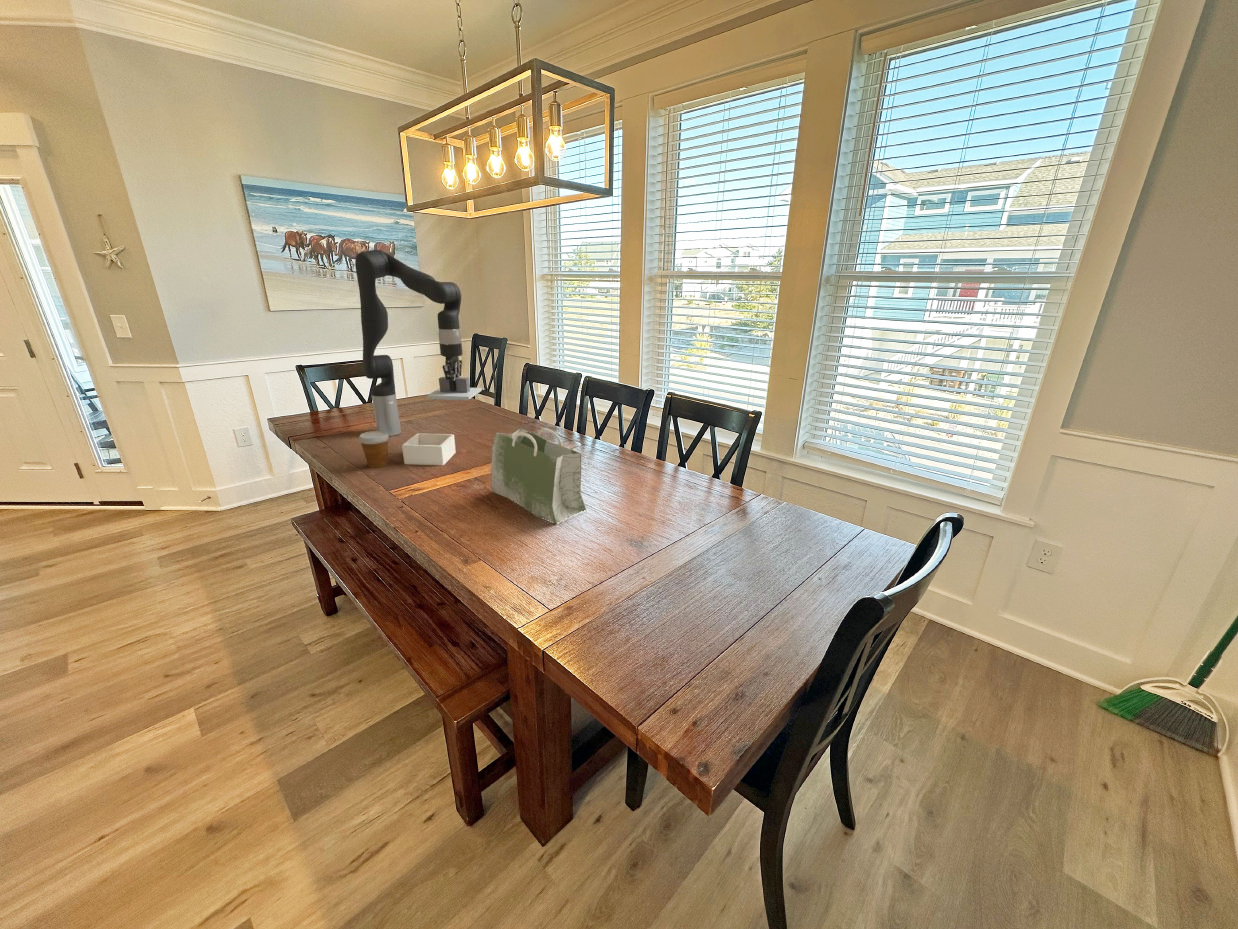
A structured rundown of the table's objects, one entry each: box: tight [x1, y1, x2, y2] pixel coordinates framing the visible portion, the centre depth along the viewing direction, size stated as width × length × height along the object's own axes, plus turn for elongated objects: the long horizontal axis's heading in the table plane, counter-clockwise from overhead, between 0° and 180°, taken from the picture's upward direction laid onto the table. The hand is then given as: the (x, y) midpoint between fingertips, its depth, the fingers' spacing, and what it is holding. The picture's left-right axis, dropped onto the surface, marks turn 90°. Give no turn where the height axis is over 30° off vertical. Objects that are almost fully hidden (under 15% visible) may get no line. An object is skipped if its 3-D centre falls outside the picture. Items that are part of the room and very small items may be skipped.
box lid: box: [426, 376, 483, 401], centre depth 178 cm, size 15×15×7 cm
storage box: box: [401, 432, 457, 466], centre depth 181 cm, size 14×14×8 cm
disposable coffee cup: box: [358, 430, 390, 469], centre depth 172 cm, size 10×10×12 cm
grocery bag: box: [490, 427, 587, 525], centre depth 148 cm, size 32×14×23 cm, turn 48°
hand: (455, 389), depth 179 cm, fingers closed on box lid, 3 cm apart
